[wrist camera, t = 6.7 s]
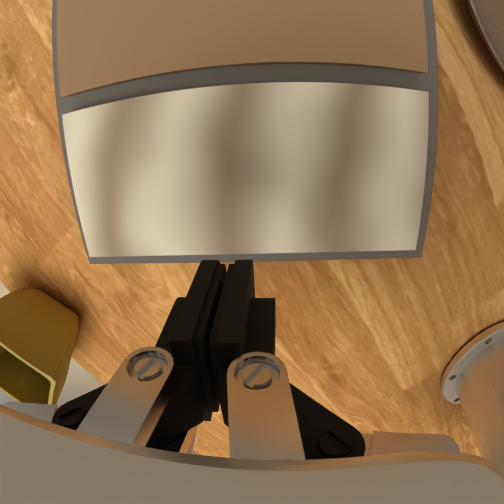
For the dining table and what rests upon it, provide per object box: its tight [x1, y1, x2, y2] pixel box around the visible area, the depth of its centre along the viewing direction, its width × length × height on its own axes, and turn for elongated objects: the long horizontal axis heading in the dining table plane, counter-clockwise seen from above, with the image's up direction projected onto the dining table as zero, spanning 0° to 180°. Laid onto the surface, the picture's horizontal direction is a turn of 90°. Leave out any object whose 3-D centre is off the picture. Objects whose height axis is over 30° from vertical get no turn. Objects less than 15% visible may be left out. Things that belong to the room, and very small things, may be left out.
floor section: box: [52, 0, 438, 264], centre depth 17 cm, size 25×22×2 cm
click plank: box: [62, 82, 429, 257], centre depth 18 cm, size 22×10×2 cm, turn 93°
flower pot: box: [0, 289, 79, 405], centre depth 24 cm, size 9×9×9 cm
